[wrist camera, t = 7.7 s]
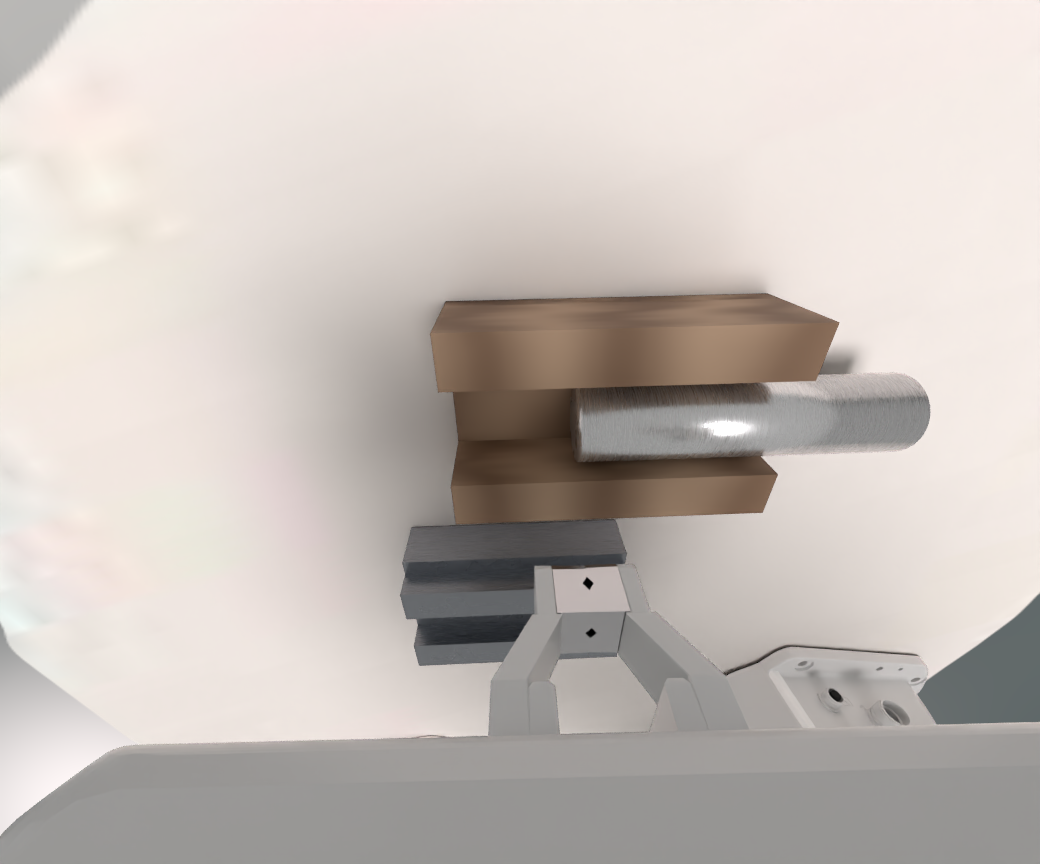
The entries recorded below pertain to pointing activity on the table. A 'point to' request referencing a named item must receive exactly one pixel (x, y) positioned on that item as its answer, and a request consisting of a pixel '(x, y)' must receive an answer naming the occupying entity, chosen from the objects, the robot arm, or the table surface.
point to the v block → (491, 582)
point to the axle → (749, 418)
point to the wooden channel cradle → (606, 363)
